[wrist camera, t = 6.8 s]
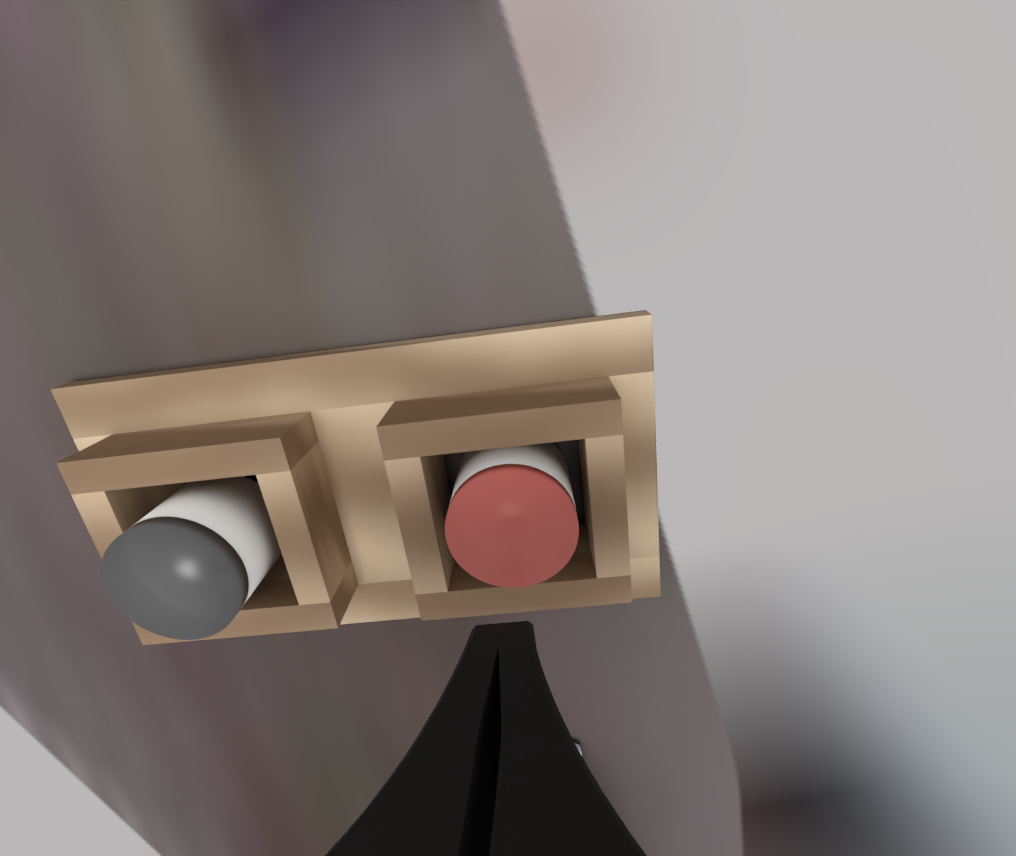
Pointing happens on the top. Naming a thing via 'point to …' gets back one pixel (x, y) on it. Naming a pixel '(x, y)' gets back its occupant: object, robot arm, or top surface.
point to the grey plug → (193, 559)
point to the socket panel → (385, 463)
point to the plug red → (512, 515)
